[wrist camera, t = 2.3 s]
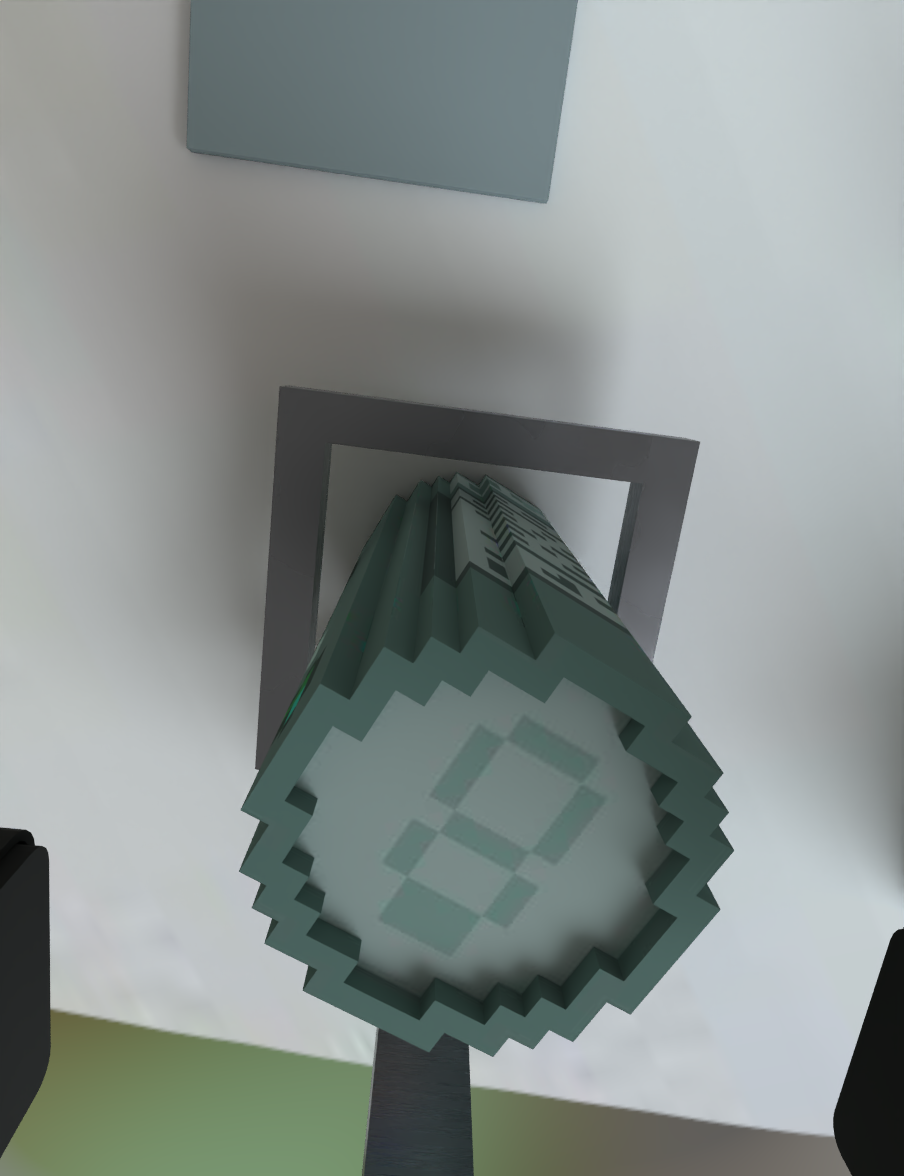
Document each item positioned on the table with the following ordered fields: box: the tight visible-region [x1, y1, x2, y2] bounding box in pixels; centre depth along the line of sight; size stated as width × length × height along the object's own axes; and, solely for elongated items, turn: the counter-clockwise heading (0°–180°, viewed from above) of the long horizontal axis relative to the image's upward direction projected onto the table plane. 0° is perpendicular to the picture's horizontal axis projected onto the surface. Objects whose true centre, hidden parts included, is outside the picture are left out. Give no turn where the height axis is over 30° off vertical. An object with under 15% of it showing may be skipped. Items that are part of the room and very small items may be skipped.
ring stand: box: [255, 386, 700, 1176], centre depth 18 cm, size 18×10×14 cm, turn 173°
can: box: [239, 472, 734, 1057], centre depth 17 cm, size 6×6×15 cm
